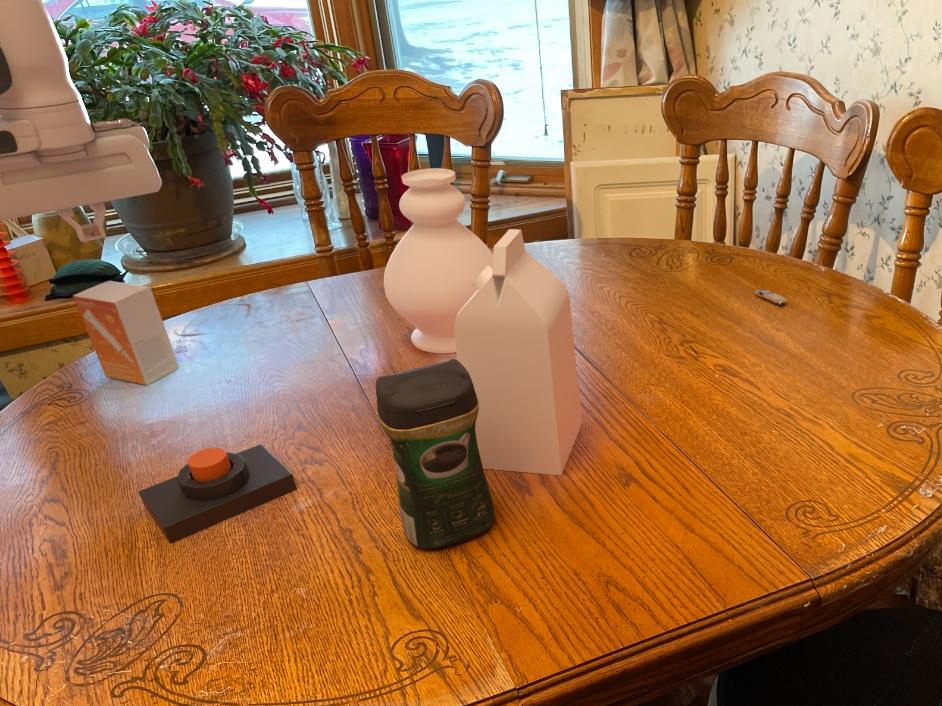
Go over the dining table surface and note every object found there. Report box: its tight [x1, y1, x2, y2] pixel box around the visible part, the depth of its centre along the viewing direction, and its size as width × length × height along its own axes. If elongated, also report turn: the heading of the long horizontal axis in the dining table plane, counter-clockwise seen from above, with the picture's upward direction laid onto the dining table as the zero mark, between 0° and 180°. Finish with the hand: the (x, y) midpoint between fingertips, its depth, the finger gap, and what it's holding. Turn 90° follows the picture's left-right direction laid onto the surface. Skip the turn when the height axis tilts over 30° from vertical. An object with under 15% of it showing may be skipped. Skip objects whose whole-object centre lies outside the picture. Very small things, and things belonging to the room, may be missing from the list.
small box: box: [72, 280, 180, 387], centre depth 112 cm, size 8×6×13 cm
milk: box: [454, 228, 583, 476], centre depth 89 cm, size 12×12×26 cm
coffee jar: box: [375, 358, 496, 551], centre depth 78 cm, size 10×8×19 cm
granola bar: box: [753, 288, 788, 305], centre depth 133 cm, size 7×2×1 cm, turn 33°
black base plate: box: [138, 443, 297, 544], centre depth 88 cm, size 14×9×4 cm, turn 132°
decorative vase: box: [383, 167, 493, 354], centre depth 117 cm, size 18×18×25 cm
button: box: [187, 447, 231, 482], centre depth 86 cm, size 4×4×2 cm
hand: (93, 239), depth 103 cm, fingers closed
